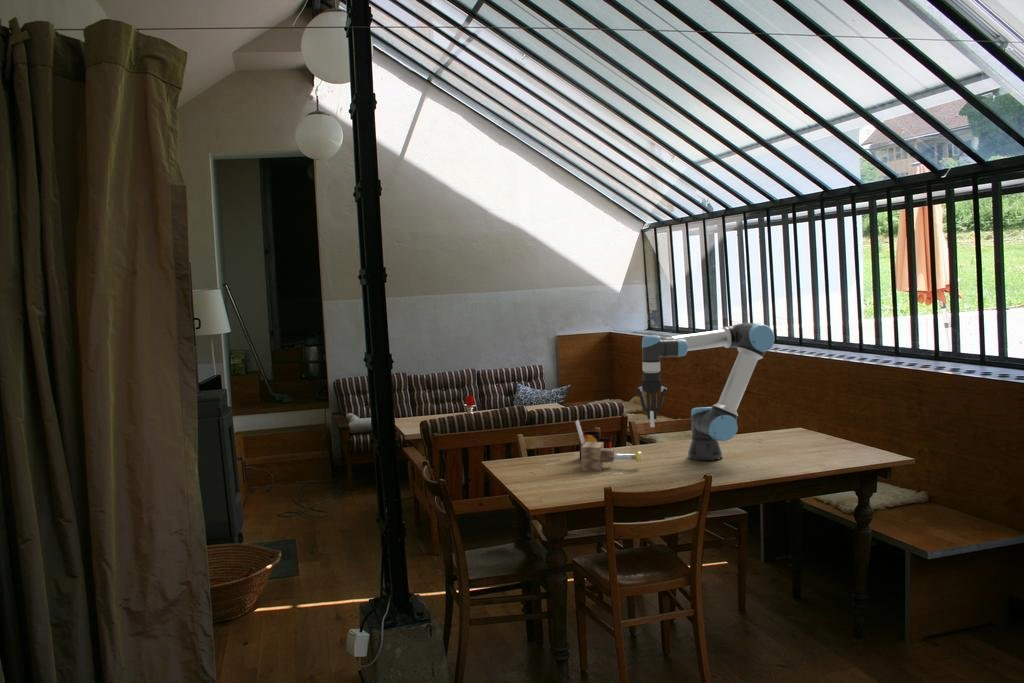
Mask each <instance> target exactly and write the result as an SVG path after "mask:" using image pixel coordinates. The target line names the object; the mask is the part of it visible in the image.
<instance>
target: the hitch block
mask: <svg viewBox="0 0 1024 683" xmlns="http://www.w3.org/2000/svg"><path fill="white" fill-rule="evenodd" d="M604 443H605V442H586V441H585V442H584V444H583V443H582V444H581V446H582V447H581V460H580V461H581V462H580V463H581V465H580V466H581V471H593V472H594V471H598V472H600V471H601V470H602V469H603V467H604V465H605V463H613V462H614V461H615V459H613V454H615V448H613V447H611V448H609V447H608V448H607V447H606V448H605V447H604V445H605V444H604Z"/></svg>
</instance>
